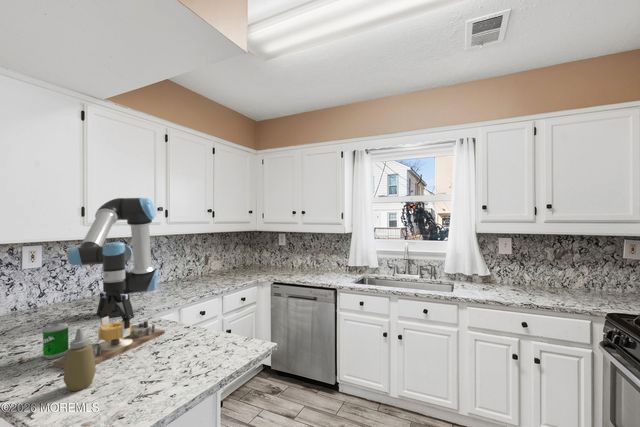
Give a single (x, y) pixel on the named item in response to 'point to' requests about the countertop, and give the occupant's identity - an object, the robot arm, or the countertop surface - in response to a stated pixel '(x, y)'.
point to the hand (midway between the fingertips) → (115, 334)
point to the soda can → (55, 340)
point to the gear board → (120, 343)
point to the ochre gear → (111, 331)
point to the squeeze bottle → (79, 363)
